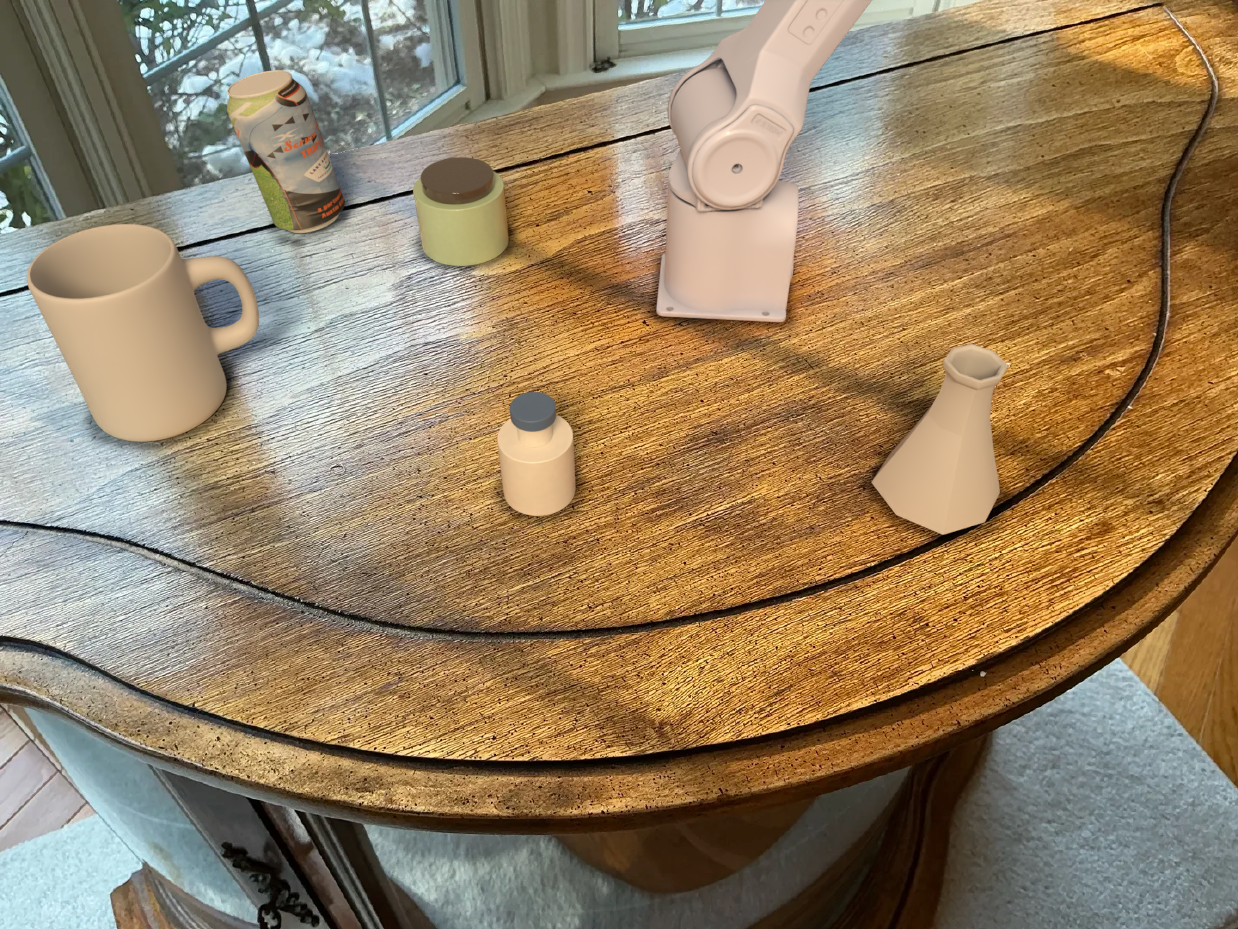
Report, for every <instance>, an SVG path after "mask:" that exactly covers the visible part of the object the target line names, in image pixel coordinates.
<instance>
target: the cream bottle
mask: <svg viewBox="0 0 1238 929" xmlns="http://www.w3.org/2000/svg"><path fill="white" fill-rule="evenodd" d="M556 405H557V404H556V401H555V400H554V399H553V398H552V396H550V395H548V394H547V393H544V392H541V391H528V392H524V393H521V394H519V395H517V396H516V397H514V398H513V400H512V401H511V402H510V404H509V417H510V418H509V419H508V420H506V421H505V422H504V423H502V425H501V427H500V428H499V430H498V433H497V437H496V439H497V440H496V442H497V451H498V459H499V467H500V475H501V484H502V491H503V492H502V493H503V497H504V499H505V501H506V503H507V505H508V506H509V507H510V508H512V509H513V510H514V511H516V512H518V513H520V514H523V515H525V516H532V517H543V516H550V515H553V514H556V513H558V512H560V511H562V510H563V509H564V508H566V507H567V506H568V505H569V504H570V503H571V502H572V500H573V499H574V497H575V495H576V490H577V488H576V486H577V485H576V465H575V444H574V431H573V429H572V428H573V427H571V425H570V423H569V422H567V420H565V418H563V417H561V416H560V415H558V414H557V406H556Z"/></svg>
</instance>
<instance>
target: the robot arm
mask: <svg viewBox="0 0 1238 929" xmlns="http://www.w3.org/2000/svg"><path fill="white" fill-rule="evenodd" d="M872 1H873V0H764V2H763V3H762V4H761V6H760V8H759V9H758V11H757V12H756V13H755V15H754V16H753V18H752V20H750V22H749V23H748V25H747V26H746V27H744V28H742V29H741V30H738V31H736V32H734V33H731V34H729V35H728V36H726V37H724V38H722V39H721V40H720V41H719V43H718V45H717V46H716V47H715V49H714V50H713V51H712V53H711V54H710V55H709V56H708V57H707V58H706V59H705V60H704V61H703V62H701V63H700V64H698V65H696V66H695V67H693V68H691V69H690V70H688V71H687V72H685V73H684V74H683V75H682V76H681V77H680V78H679V80H677V82H676V83H675V84H674V86H673V88H672V90H671V92H670V94H669V98H668V101H667V107H666V108H667V109H666V112H667V120H668V123H669V127H670V128H671V131H672V134H674V136H675V137H676V140H677V143H678V146H679V150H678V153H677V156H676V158H675V160H674V161H673V163H672V165H671V167H670V169H669V171H668V175H667V198H666V199H667V202H666V224H665V225H666V226H665V227H666V230H665V252H664V253H663V254H662V255H661V261H660V270H659V280H658V289H657V298H656V299H657V300H656V309H655V310H656V315H657V316H660V317H665V318H667V317H668V318H686V319H687V318H688V319H706V320H722V321H723V320H724V321H725V320H727V321H748V322H765V323H783V322H785V321H786V320H787V308H788V306H787V305H788V300H789V299H788V298H789V293H790V286H791V281H792V280H793V275H794V268H795V267H794V266H795V250H796V243H797V234H798V223H799V211H800V210H799V207H800V206H799V205H800V203H799V202H800V194H799V193H800V192H799V185H798V184H797V183H794V182H789V181H784V180H781V179H780V178H781V176H782V173H783V169H784V165H785V161H786V156H787V153H788V151H789V148H790V147H791V145H792V144H793V142H794V140H795V139H796V138H797V137H798V135H799V134H800V133H801V131H802V130H803V127H804V122H805V117H806V113H807V112H806V111H807V106H808V100H809V94H810V89H811V84H812V82H813V80H814V78H815V77H816V76H817V75H818V73H819V72H820V70H821V69H822V68H823V67H824V65H825V64H826V63H827V61H828V60H829V59H830V57H831V56H832V54H833V53H834V52H835V51H836V49H837V48H838V46H840V44H841V43H842V41H843V40H844V39H845V37H846V36H847V35H848V33H849V32H850V30H851V29H852V28H853V27H854V25H855V24H856V23H857V21H858V20H859V18H860V17H861V16H862V15H863V13H864V12H865V10H866V9H867V8H868V6H869V5H870V4H871V3H872Z"/></svg>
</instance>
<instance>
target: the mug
mask: <svg viewBox="0 0 1238 929" xmlns="http://www.w3.org/2000/svg"><path fill="white" fill-rule="evenodd" d="M249 279H250V278H248V276H247V274H246V273H245V271H244V270H243V269H242V267H241V266H240V265H239V264H238V263H236V261H234V260H232V259H231V258H229V257H225V256H221V255H210V256H200V257H194V258H193V257H192V258H187V259H186V258H182V256H181V254H180V252H179V250H178V247H177V245H176V244H175V241H174V240H173V239H172V238H171V237H170V235H168V234H167V233H166V232H165V231H163V230H161V229H159V228H155V227H153V226H149V225H144V224H137V223H135V224H134V223H115V224H107V225H100V226H96V227H91V228H88V229H83V230H81V231H77V232H74V233H72V234H69V235H67V236H65V237H63V238H61V239H58V240H57V241H55V242H53V243H52V244H50V245H49V246H46V247H45V248H44V249H43V250H42V251H41V252H39V253H38V254H37V255H36V256H35V258H33V260H32V262H31V263H30V264H29V267H28V268H27V272H26V283H27V287H28V290H29V292H30V294H31V296H32V298H33V300H34V302H35V304H36V305H37V306H36V307H37V308H38V309H39V312H40V313H41V316H42V318H43V320H44V322H45V323H46V325H47V327H48V329H49V332H50V333H51V336H52V337H53V339H54V341H55V343H56V345H57V348H58V349H59V351H60V353H61V355H62V357H63V359H64V361H65V363H66V365H67V367H68V369H69V371H70V373H71V375H72V377H73V378H74V381H75V382H76V385H77V387H78V389H79V391H80V393H81V395H82V398H83V399H84V402H85V404H86V406H87V409H88V410H89V413H90V414H91V416H92V418H93V420H94V422H95V423H96V425H97V426H98V427H99V428H100V429H101V430H102V431H103V432H105V433H106V434H107V435H109V436H111V437H113V438H115V439H119V440H122V441H126V442H137V443H144V442H145V443H146V442H156V441H162V440H167V439H170V438H174V437H177V436H180V435H182V434H185V433H187V432H189V431H191V430H193V429H195V428H197V427H199V426H200V425H202V424H203V423H204V422H206V421H207V420H208V419H210V418H211V417H212V416H213V415H214V414H215V413H216V412H217V411H218V410H219V409H220V407H221V405H222V404H223V402H224V399H225V397H226V395H227V394H226V393H227V379H226V375H225V371H224V369H223V366H222V364H221V361H220V359H219V357H218V356H219V354H222V353H225V352H228V351H232V350H234V349H236V348H240V347H241V346H244V345H246V344H247V343H249V342H250V341H251V340H253V338H254V337H255V336H256V334H257V333H258V329H259V327H260V326H259V325H260V312H259V304H258V301H257V297H256V293H255V290H254V288H253V285H252V283H251V282H250V280H249ZM216 280H223V281H226V282H229V283H230V284H231V285H232V286H233V287H234V288H235V289H236V291H237V293H238V295H239V299H240V301H241V302H240V303H241V315H240V318H238V320H237V321H236V322H234V323H232V324H230V325H226V326H221V327H211V326H209V325H208V324H207V323H206V322H205V319H204V316H203V314H202V312H201V308H200V306H199V303H198V301H197V297H196V295H195V291H196V290H197V289H198V288H199V287H201V286H203V285H204V284H207V283H209V282H212V281H213V282H214V281H216Z"/></svg>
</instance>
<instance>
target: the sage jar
mask: <svg viewBox="0 0 1238 929" xmlns="http://www.w3.org/2000/svg"><path fill="white" fill-rule="evenodd" d="M412 194H413V199H414V206H415V212H416V217H417V224H418V229H419V235H420V242H421V247H422V251H423V252H424V254H425V256H427V257H428V258H429V259H430V260H433V261H434V262H436V263H439V264H442V265H446V266H453V267H469V266H476V265H481V264H484V263H487V262H489V261H491V260H494V259H496V258H497V257H500V255H502V253H504V252H505V250H506V249H507V247H508V245H509V242H510V236H509V226H508V225H509V224H508V216H507V215H508V214H507V202H506V195H505V194H506V192H505V183H504V180H503V178H502V177H501V175H500V174H499V173H497V172H496V171H495V170H494V169H493V167H492V166H491V165H490V164H488V163H487V162H485V161H483V160H481V159H478V158H474V157H466V156H465V157H464V156H463V157H462V156H460V157H447V158H443V159H440V160H437V161H435V162H433V163H430V164H429V165H427V166H426V167H425V168H424V169H423V170H422V172H421V174H420V177H419V178H418V179H417V180H416V182H415V183H414V185H413V188H412Z"/></svg>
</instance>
